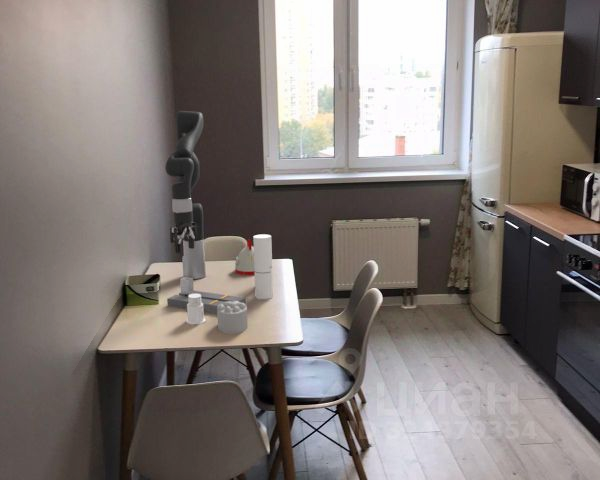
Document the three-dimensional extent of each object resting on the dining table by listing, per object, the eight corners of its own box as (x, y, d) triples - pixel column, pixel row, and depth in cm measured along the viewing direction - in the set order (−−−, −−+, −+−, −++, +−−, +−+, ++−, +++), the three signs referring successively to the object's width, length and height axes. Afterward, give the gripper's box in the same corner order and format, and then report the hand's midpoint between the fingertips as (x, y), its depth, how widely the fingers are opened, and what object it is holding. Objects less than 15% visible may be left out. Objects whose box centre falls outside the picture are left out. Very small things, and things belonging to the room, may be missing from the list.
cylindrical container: (276, 295, 279) (274, 235, 273) (268, 300, 272) (266, 238, 267) (260, 293, 282) (258, 233, 276) (252, 298, 275) (250, 237, 270)
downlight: (183, 319, 252) (182, 293, 249) (202, 316, 254) (201, 291, 252) (189, 326, 245) (187, 300, 242) (208, 323, 247) (207, 297, 245)
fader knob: (181, 300, 271) (180, 278, 269) (186, 298, 273) (184, 276, 271) (189, 301, 269) (188, 279, 267) (194, 299, 271) (192, 277, 269)
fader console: (167, 305, 268) (167, 297, 267) (187, 296, 279) (187, 288, 278) (227, 315, 255) (227, 306, 255) (246, 305, 267) (245, 296, 266)
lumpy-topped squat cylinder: (246, 320, 249) (245, 297, 247) (248, 332, 237) (247, 308, 235) (217, 322, 248) (216, 299, 246) (218, 334, 235) (217, 310, 233)
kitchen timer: (237, 276, 308) (236, 243, 305) (233, 268, 321) (231, 237, 318) (267, 273, 311) (266, 241, 308) (262, 266, 324) (261, 235, 321)
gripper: (185, 206, 271) (188, 246, 274) (163, 212, 259) (165, 254, 262) (201, 207, 268) (203, 247, 271) (179, 213, 255) (181, 255, 259)
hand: (185, 250), depth 267 cm, fingers open, 8 cm apart
